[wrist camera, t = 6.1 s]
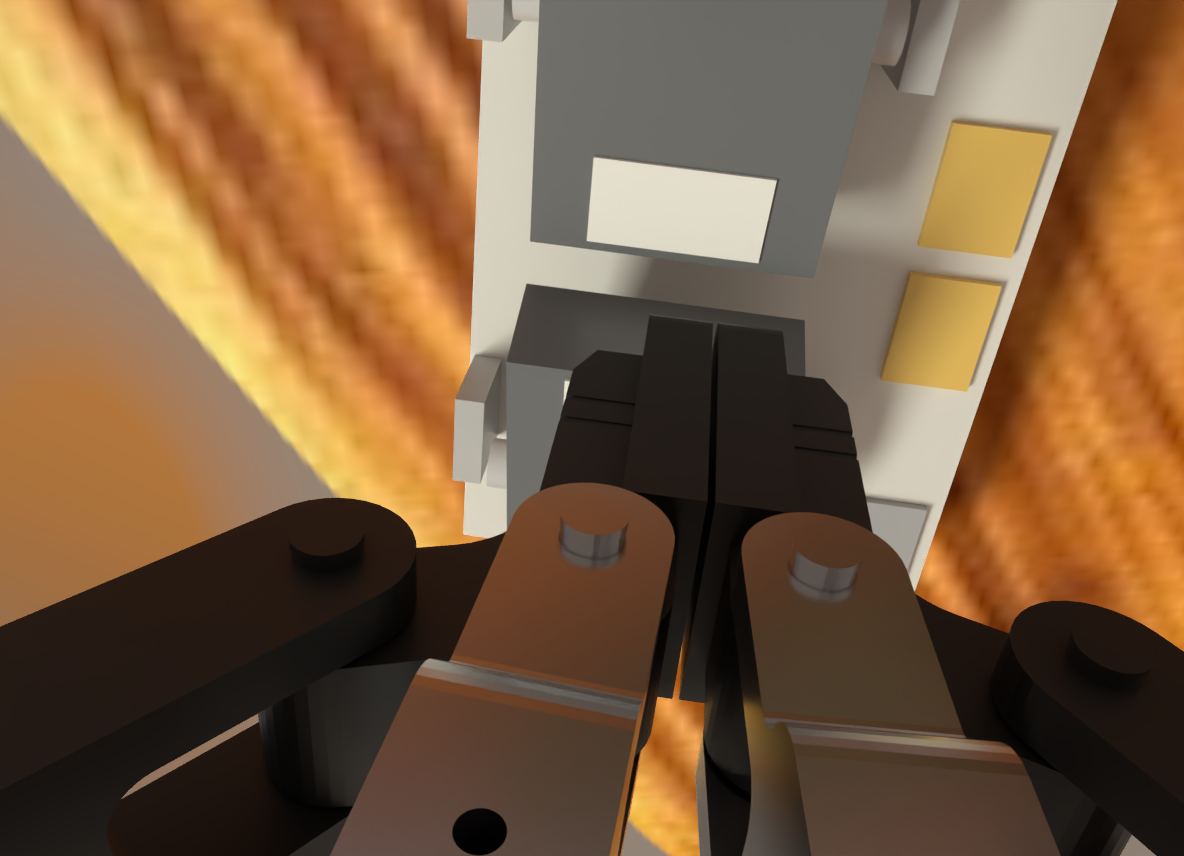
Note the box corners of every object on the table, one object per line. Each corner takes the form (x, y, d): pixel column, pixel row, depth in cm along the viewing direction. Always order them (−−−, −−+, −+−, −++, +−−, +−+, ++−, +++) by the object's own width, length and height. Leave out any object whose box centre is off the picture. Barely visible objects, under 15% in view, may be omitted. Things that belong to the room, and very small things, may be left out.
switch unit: (1131, -232, 18) (1259, -246, 14) (893, 524, 27) (926, 656, 23) (526, -300, 19) (471, -333, 14) (486, 467, 28) (445, 587, 23)
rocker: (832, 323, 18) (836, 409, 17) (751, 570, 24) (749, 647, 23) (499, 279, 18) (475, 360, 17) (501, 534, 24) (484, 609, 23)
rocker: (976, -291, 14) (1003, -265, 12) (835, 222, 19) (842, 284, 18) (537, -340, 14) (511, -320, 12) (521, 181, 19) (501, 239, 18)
